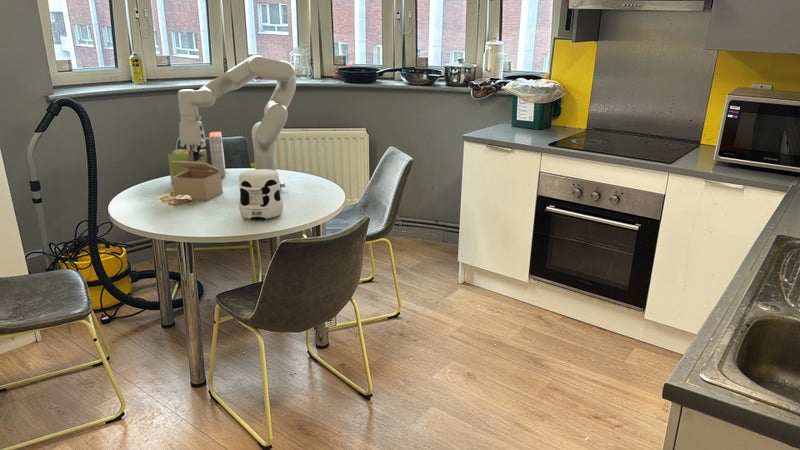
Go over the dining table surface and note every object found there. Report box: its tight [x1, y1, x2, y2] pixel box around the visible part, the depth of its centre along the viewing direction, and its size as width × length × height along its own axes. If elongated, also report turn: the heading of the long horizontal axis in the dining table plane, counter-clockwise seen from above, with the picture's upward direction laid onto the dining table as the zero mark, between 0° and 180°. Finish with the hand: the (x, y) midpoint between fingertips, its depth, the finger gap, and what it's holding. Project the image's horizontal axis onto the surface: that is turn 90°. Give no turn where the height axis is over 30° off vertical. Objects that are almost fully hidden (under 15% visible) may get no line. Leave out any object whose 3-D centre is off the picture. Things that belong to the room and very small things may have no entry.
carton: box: [171, 170, 224, 202], centre depth 273 cm, size 16×14×10 cm
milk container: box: [238, 169, 284, 222], centre depth 243 cm, size 17×17×18 cm
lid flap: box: [171, 149, 221, 171], centre depth 271 cm, size 16×14×6 cm
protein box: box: [167, 148, 208, 186], centre depth 294 cm, size 10×15×16 cm
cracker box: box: [208, 131, 226, 178], centre depth 308 cm, size 14×6×21 cm, turn 14°
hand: (194, 159), depth 269 cm, fingers closed
